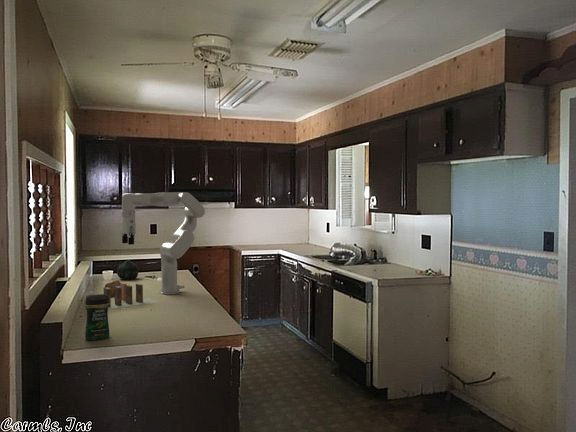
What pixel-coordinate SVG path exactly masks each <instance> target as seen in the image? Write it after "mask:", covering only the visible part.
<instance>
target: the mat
mask: <svg viewBox="0 0 576 432" xmlns="http://www.w3.org/2000/svg"><path fill="white" fill-rule="evenodd" d="M159 302H160V301H159V300H155V299H153V298H152V297H150V298H149V297H148V298H143V303H138V302H136V299H134V300H133V299H132V304H127V303H126V301H122V306H117V305H115V302H113V303H112V302H111V307H108V310H111V309H117V308H123V307H124V308H125V307H131V306H137V305H138V306H139V305H145V304H146V305H147V304H152V303H159Z"/></svg>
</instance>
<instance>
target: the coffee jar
mask: <svg viewBox="0 0 576 432" xmlns="http://www.w3.org/2000/svg"><path fill="white" fill-rule="evenodd" d="M84 302H85V303H84V307H85V309H86V322H85V323H86V324H85V331H84V337H85V340H87V341H98V340H99V341H100V340H105V339H107V338H109V337H110V326H109V325H110V324H109V309H108V307H109V298H108V295H107V294H104V293H103V294H102V293H100V294H91V295H86V297H85V301H84Z"/></svg>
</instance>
